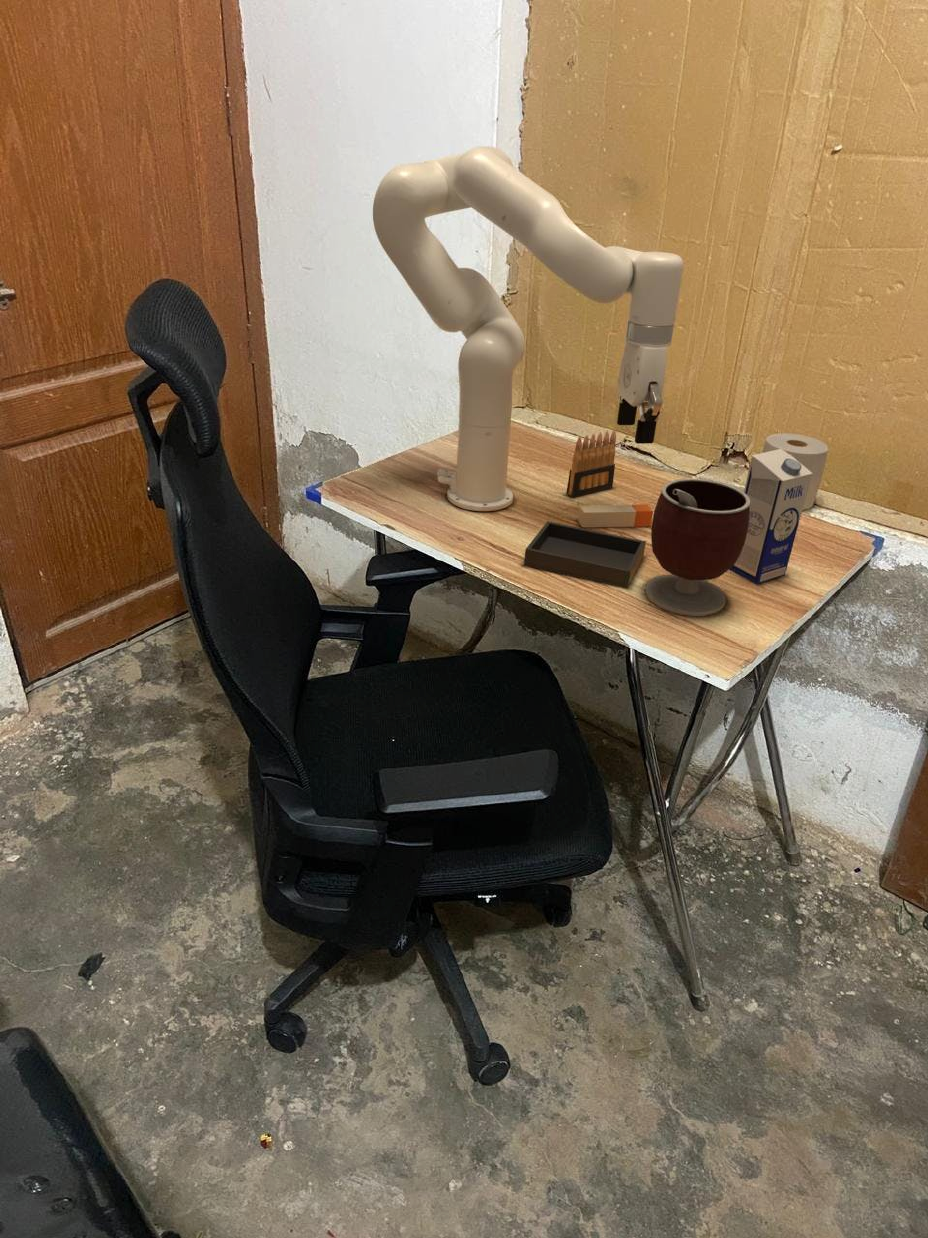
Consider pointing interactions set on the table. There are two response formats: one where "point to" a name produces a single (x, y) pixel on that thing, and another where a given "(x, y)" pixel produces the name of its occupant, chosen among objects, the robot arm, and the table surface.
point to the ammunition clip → (592, 465)
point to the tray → (585, 554)
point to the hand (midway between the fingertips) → (634, 433)
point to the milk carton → (772, 514)
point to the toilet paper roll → (802, 457)
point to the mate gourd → (696, 543)
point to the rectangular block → (615, 516)
